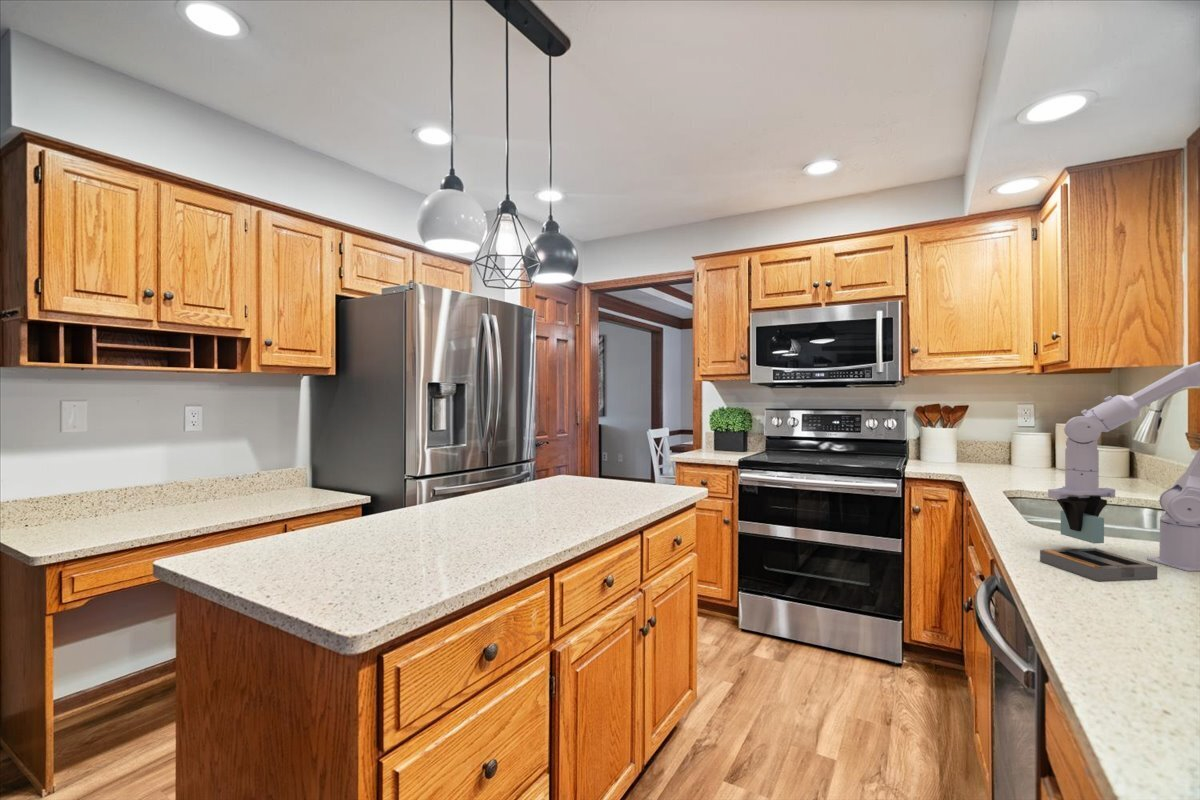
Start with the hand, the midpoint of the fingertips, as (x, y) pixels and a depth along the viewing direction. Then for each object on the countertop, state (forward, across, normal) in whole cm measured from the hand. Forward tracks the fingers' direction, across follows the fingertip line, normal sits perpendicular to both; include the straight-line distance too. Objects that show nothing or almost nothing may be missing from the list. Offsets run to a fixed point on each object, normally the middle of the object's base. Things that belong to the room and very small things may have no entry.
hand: (1081, 530), depth 127 cm
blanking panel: (+2, 0, 0) cm, 2 cm away
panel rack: (+5, +9, +12) cm, 16 cm away
